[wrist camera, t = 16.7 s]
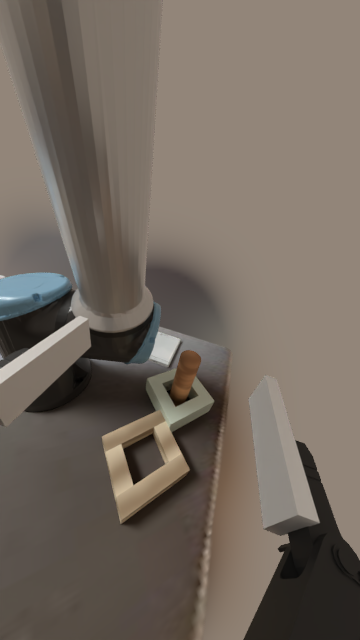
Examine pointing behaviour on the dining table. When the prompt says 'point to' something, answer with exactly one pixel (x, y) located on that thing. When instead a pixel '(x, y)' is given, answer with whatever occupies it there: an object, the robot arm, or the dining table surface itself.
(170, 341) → the hard drive
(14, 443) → the dining table surface
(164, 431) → the holder
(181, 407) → the socket block
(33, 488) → the dining table surface
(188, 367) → the peg
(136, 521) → the dining table surface
